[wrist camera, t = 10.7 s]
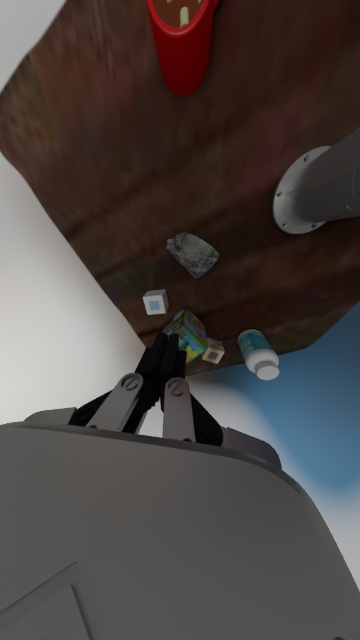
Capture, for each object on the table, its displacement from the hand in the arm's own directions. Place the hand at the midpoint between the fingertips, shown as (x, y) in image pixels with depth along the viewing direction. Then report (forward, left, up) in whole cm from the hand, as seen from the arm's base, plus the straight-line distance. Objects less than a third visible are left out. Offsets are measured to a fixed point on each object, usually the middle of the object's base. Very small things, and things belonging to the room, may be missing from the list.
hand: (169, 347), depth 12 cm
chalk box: (0, +15, -29) cm, 33 cm away
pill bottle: (-20, +18, -29) cm, 40 cm away
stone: (-1, -5, -29) cm, 30 cm away
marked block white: (+8, +7, -29) cm, 31 cm away
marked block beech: (-9, +22, -29) cm, 38 cm away
